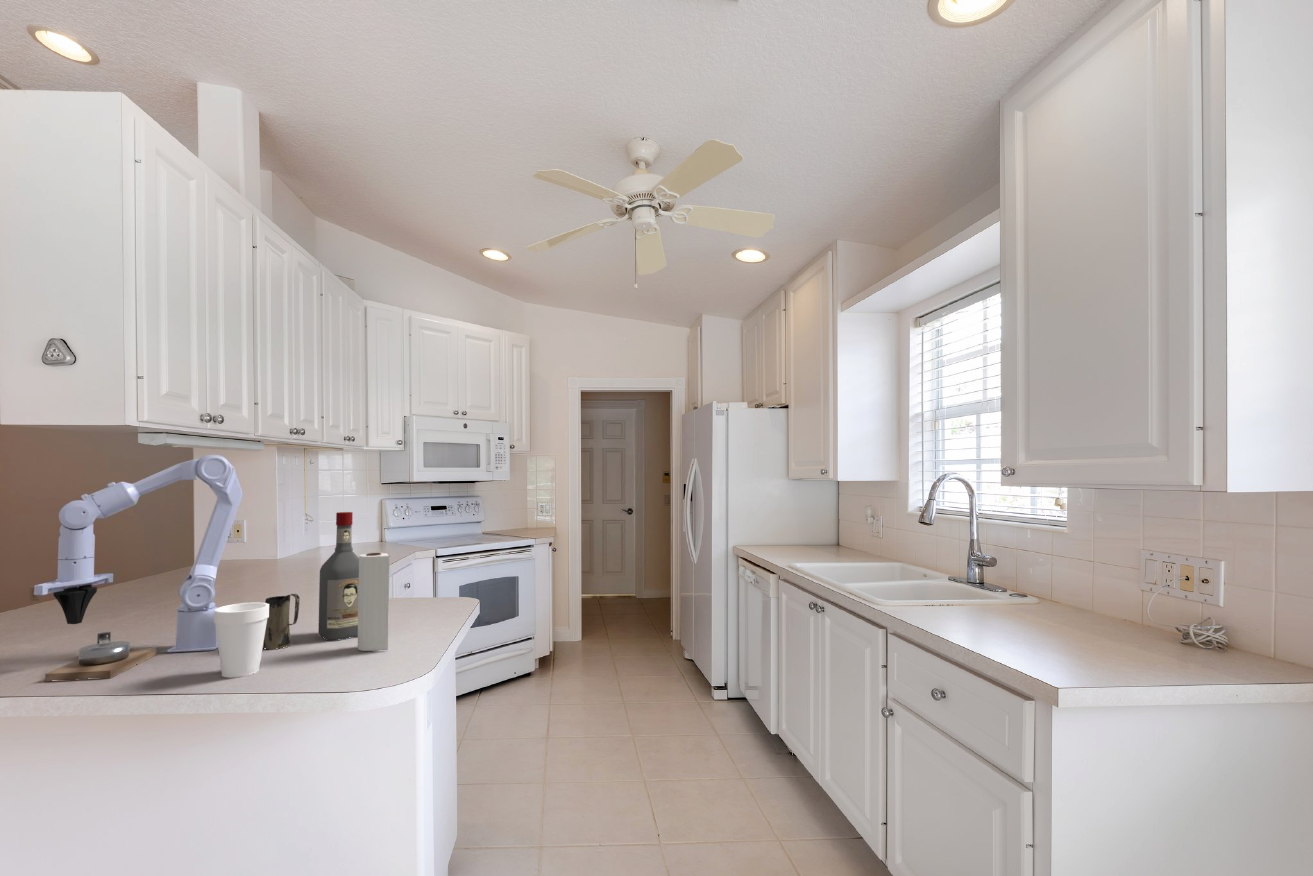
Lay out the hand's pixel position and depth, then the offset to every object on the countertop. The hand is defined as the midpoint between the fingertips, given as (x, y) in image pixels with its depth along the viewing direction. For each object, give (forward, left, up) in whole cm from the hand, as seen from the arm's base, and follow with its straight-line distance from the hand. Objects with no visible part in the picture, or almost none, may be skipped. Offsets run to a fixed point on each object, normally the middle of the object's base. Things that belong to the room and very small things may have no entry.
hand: (74, 623), depth 137 cm
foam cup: (-36, +12, -9) cm, 39 cm away
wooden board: (-7, +3, -9) cm, 12 cm away
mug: (-37, -7, -9) cm, 39 cm away
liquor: (-48, -15, -9) cm, 51 cm away
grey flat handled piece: (-6, 0, -7) cm, 9 cm away
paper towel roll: (-58, -1, -9) cm, 59 cm away
